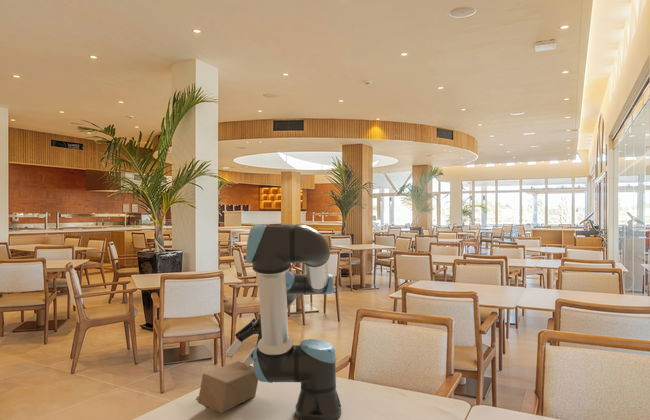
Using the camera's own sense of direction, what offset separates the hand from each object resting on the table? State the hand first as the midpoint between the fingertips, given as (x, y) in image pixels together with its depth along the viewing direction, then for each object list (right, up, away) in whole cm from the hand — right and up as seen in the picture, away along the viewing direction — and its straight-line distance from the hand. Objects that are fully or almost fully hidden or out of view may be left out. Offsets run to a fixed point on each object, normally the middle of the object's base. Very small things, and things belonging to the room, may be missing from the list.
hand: (236, 359), depth 172 cm
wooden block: (+4, -6, -1) cm, 8 cm away
